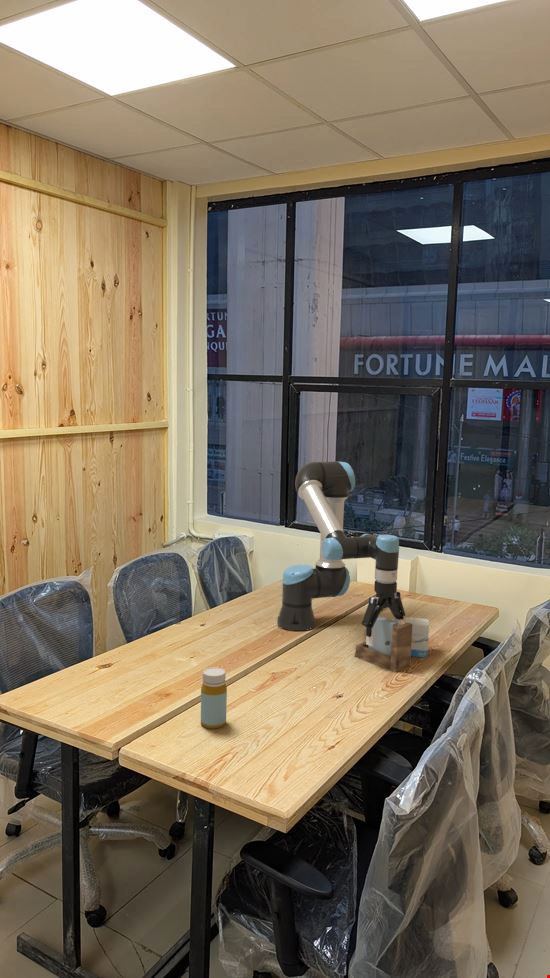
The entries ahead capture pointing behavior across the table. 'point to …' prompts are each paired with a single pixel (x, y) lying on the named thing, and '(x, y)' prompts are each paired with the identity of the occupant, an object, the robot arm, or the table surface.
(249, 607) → the table surface
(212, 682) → the bottle
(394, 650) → the track
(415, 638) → the ink box
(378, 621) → the door
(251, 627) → the table surface
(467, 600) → the table surface
